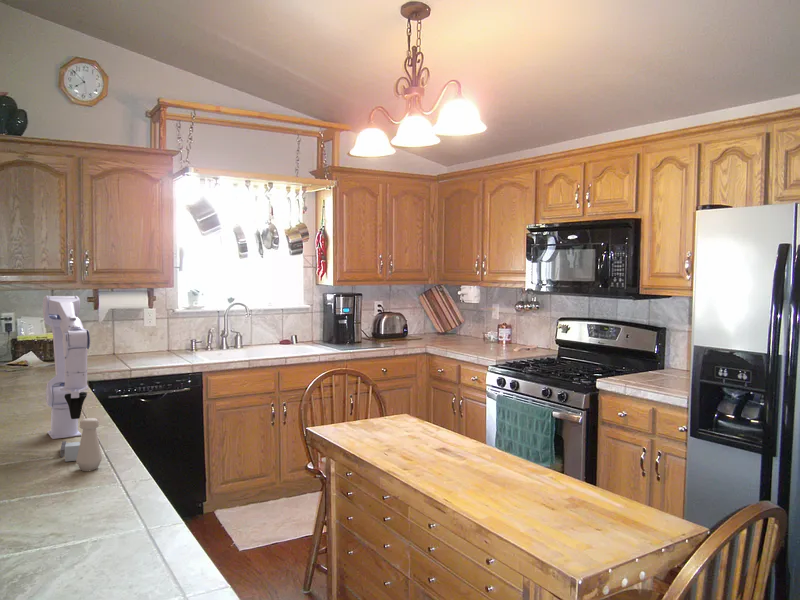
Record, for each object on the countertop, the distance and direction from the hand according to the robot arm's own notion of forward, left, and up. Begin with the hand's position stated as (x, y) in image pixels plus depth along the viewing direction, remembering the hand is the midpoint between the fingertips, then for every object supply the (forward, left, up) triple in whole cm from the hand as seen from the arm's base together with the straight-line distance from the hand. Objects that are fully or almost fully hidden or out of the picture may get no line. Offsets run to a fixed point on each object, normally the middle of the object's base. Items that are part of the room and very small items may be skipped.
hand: (75, 418), depth 173 cm
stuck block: (+13, -3, -8) cm, 15 cm away
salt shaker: (+23, -1, -9) cm, 25 cm away
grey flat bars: (+5, -1, -8) cm, 10 cm away
